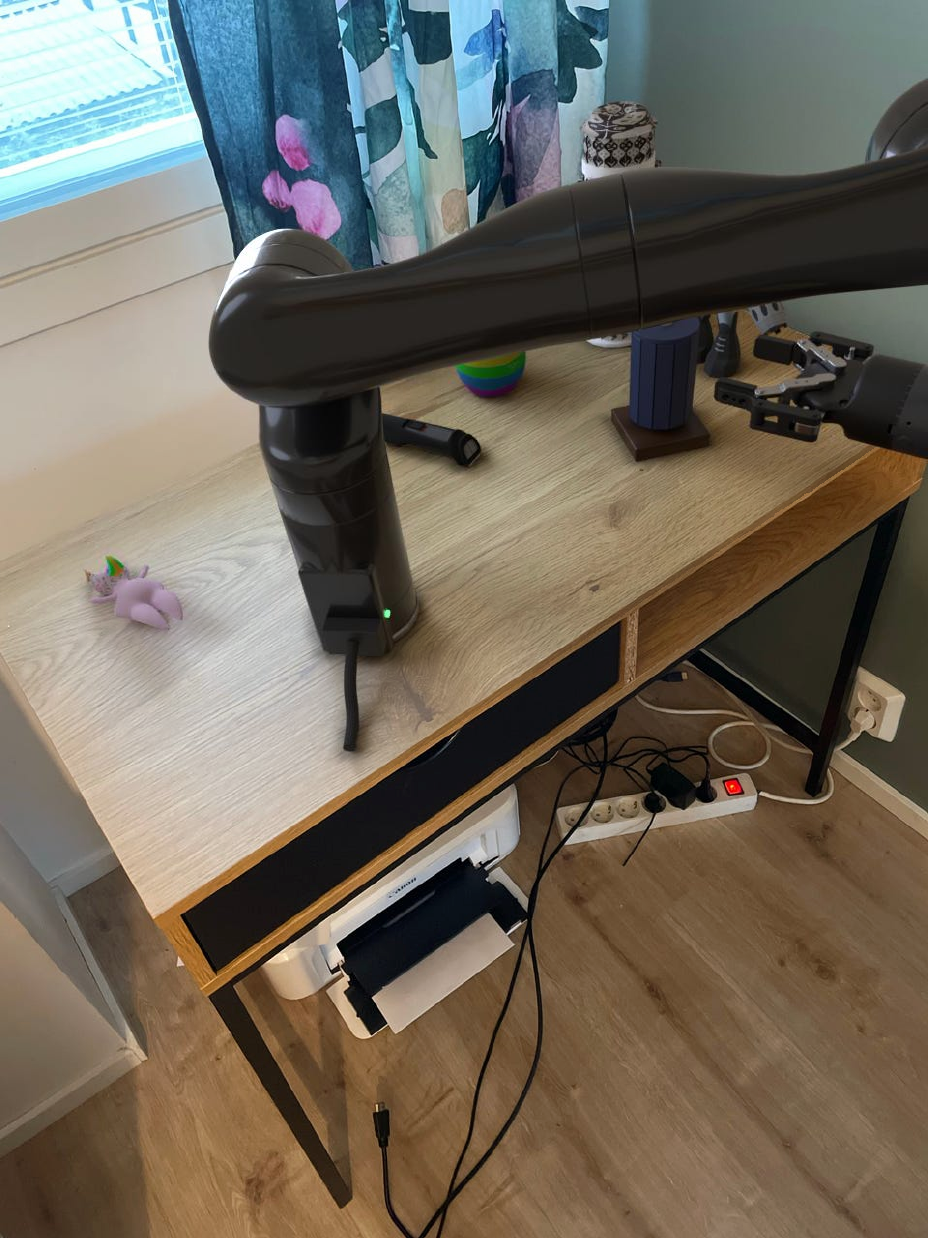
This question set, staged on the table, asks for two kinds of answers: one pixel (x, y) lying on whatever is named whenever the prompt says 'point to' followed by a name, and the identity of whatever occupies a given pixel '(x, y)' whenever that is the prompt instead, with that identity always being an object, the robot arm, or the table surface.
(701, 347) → the robot
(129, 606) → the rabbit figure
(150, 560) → the table surface
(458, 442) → the electric trimmer
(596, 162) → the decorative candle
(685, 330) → the slatted storage jar
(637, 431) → the hat peg
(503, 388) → the decorative egg
